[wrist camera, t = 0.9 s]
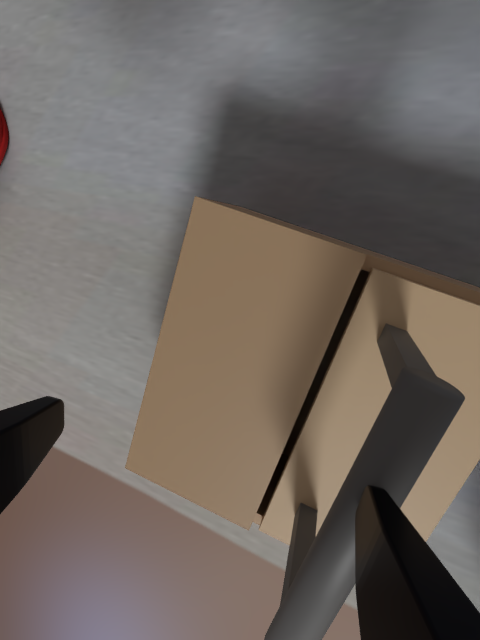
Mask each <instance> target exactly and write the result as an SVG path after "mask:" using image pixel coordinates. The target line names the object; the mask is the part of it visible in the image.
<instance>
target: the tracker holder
mask: <svg viewBox="0 0 480 640" xmlns="http://www.w3.org/2000/svg"><path fill="white" fill-rule="evenodd" d="M7 146H8V127H7V124H6V120H5V118H4V115H3V113H2V110H1V109H0V165H1V163H2V160H3V158H4V155H5V152H6V149H7Z"/></svg>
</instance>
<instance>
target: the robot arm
mask: <svg viewBox="0 0 480 640" xmlns="http://www.w3.org/2000/svg"><path fill="white" fill-rule="evenodd" d="M63 428H64V403H63V401H62V400H61V399H58V398H54V397H50V396H46V397H42V398H39V399H36V400H33V401H30V402H26V403H23V404H20V405H17V406H14V407H11V408H7V409H4V410H1V411H0V514H1V512H3V510H4V509H5V508H6V507H7V506H8V505H9V503H10V502H11V501H12V500H13V499H14V498H15V496H16V495H17V494H18V493H19V492H20V490H21V489H22V488H23V487H24V485H25V484H26V483H27V481H28V480H29V479H30V477H31V476H32V475H33V473H34V472H35V470H36V469H37V468H38V466H39V465H40V463H41V462H42V461H43V459H44V458H45V456H46V455H47V453H48V452H49V451H50V449H51V448H52V446H53V445H54V443H55V442H56V441H57V439H58V438H59V436H60V435H61V433H62V431H63ZM355 583H356V598H357V608H358V617H359V626H360V635H361V640H480V613H479V611H478V610H477V609H476V608H475V606H474V605H473V604H472V602H471V601H470V600H469V598H468V597H467V596H466V594H465V593H464V592H463V590H462V589H461V588H460V586H459V585H458V584H457V583H456V581H455V580H454V579H453V577H452V576H451V575H450V573H449V572H448V571H447V569H446V568H445V567H444V565H443V564H442V563H441V562H440V560H439V559H438V558H437V556H436V555H435V554H434V552H433V551H432V550H431V548H430V547H429V546H428V544H427V543H426V542H425V541H424V539H423V538H422V537H421V535H420V534H419V533H418V531H417V530H416V529H415V527H414V526H413V525H412V523H411V522H410V521H409V520H408V518H407V517H406V516H405V514H404V513H403V512H402V510H401V509H400V508H399V506H398V505H397V504H396V502H395V501H394V500H393V499H392V497H391V496H390V495H389V493H388V492H387V491H386V490H385V489H383V488H380V487H376V486H373V485H367V486H366V487H365V489H364V492H363V494H362V497H361V499H360V502H359V504H358V507H357V509H356V514H355Z"/></svg>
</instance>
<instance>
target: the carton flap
mask: <svg viewBox="0 0 480 640" xmlns="http://www.w3.org/2000/svg"><path fill="white" fill-rule="evenodd" d="M479 460H480V305H479V304H476V303H473V302H470V301H468V300H465V299H462V298H459V297H456V296H453V295H450V294H447V293H444V292H442V291H439V290H436V289H433V288H430V287H427V286H424V285H421V284H418V283H415V282H413V281H410V280H407V279H404V278H401V277H398V276H395V275H392V274H389V273H386V272H384V271H381V270H378V269H375V268H372V269H371V271H370V273H369V276H368V278H367V280H366V283H365V285H364V287H363V289H362V292H361V294H360V296H359V298H358V301H357V303H356V305H355V308H354V310H353V312H352V314H351V317H350V319H349V321H348V324H347V326H346V328H345V330H344V333H343V335H342V337H341V340H340V342H339V344H338V346H337V349H336V351H335V353H334V356H333V358H332V360H331V362H330V365H329V367H328V369H327V372H326V374H325V376H324V378H323V381H322V383H321V385H320V388H319V390H318V392H317V394H316V397H315V399H314V401H313V404H312V406H311V408H310V410H309V413H308V415H307V417H306V420H305V422H304V424H303V426H302V429H301V431H300V433H299V435H298V438H297V440H296V442H295V445H294V447H293V449H292V451H291V454H290V456H289V458H288V461H287V463H286V465H285V467H284V470H283V472H282V474H281V477H280V479H279V481H278V483H277V486H276V488H275V490H274V493H273V495H272V497H271V499H270V502H269V504H268V506H267V509H266V511H265V513H264V515H263V518H262V520H261V523H260V527H259V530H260V531H262V532H264V533H266V534H268V535H270V536H272V537H274V538H276V539H278V540H280V541H282V542H284V543H286V544H288V545H290V547H289V553H288V560H287V566H286V572H285V578H284V585H283V591H282V597H281V603H280V607H279V609H278V611H277V613H276V615H275V617H274V619H273V621H272V623H271V625H270V627H269V629H268V631H267V633H266V635H265V639H264V640H322V638H323V637H324V635H325V633H326V632H327V630H328V628H329V627H330V625H331V623H332V622H333V620H334V618H335V617H336V615H337V613H338V612H339V610H340V608H341V606H342V605H343V603H344V602H345V600H346V598H347V597H348V595H349V593H350V591H351V590H352V588H353V586H354V585H355V514H356V509H357V507H358V504H359V502H360V499H361V497H362V494H363V492H364V489H365V487H366V486H367V485H373V486H376V487H380V488H383V489H385V490H386V491H387V492H388V493H389V495H390V496H391V497H392V499H393V500H394V501H395V502H396V504H397V505H398V506H399V508H400V509H401V510H402V512H403V513H404V514H405V516H406V517H407V518H408V520H409V521H410V522H411V523H412V525H413V526H414V527H415V529H416V530H417V531H418V533H419V534H420V535H421V537H422V538H423V539H424V541H425V542H426V541H427V539H428V538H429V536H430V535H431V533H432V532H433V530H434V529H435V527H436V526H437V524H438V522H439V521H440V519H441V518H442V516H443V515H444V513H445V512H446V510H447V509H448V507H449V506H450V504H451V503H452V501H453V499H454V498H455V496H456V495H457V493H458V492H459V490H460V489H461V487H462V486H463V484H464V483H465V481H466V480H467V478H468V477H469V475H470V473H471V472H472V470H473V469H474V467H475V466H476V464H477V463H478V461H479Z"/></svg>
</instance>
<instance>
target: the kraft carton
mask: <svg viewBox="0 0 480 640" xmlns="http://www.w3.org/2000/svg"><path fill="white" fill-rule="evenodd" d="M372 268H375V269H378V270H381V271H384V272H386V273H389V274H392V275H395V276H398V277H401V278H404V279H407V280H410V281H413V282H415V283H418V284H421V285H424V286H427V287H430V288H433V289H436V290H439V291H442V292H444V293H447V294H450V295H453V296H456V297H459V298H462V299H465V300H468V301H470V302H473V303H476V304H479V305H480V287H477V286H474V285H471V284H468V283H465V282H462V281H459V280H456V279H453V278H450V277H447V276H444V275H441V274H438V273H435V272H432V271H429V270H426V269H423V268H420V267H417V266H414V265H412V264H409V263H406V262H403V261H400V260H397V259H394V258H391V257H388V256H385V255H382V254H379V253H376V252H373V251H370V250H367V249H364V248H361V247H358V246H355V245H352V244H349V243H346V242H343V241H340V240H337V239H335V238H332V237H329V236H326V235H323V234H320V233H317V232H314V231H311V230H308V229H305V228H302V227H299V226H296V225H293V224H290V223H287V222H284V221H281V220H278V219H275V218H272V217H269V216H266V215H263V214H260V213H258V212H255V211H252V210H249V209H246V208H243V207H240V206H235V205H231V204H227V203H222V202H218V201H214V200H209V199H205V198H200V197H196V196H195V198H194V202H193V206H192V210H191V214H190V218H189V222H188V225H187V229H186V233H185V237H184V241H183V245H182V249H181V253H180V256H179V260H178V264H177V268H176V272H175V276H174V280H173V284H172V288H171V291H170V295H169V299H168V303H167V307H166V311H165V315H164V319H163V323H162V326H161V330H160V334H159V338H158V342H157V346H156V350H155V354H154V357H153V361H152V365H151V369H150V373H149V377H148V381H147V385H146V389H145V392H144V396H143V400H142V404H141V408H140V412H139V416H138V420H137V424H136V427H135V431H134V435H133V439H132V443H131V447H130V451H129V455H128V458H127V462H126V466H125V468H126V469H128V470H130V471H132V472H134V473H136V474H138V475H140V476H142V477H144V478H146V479H148V480H150V481H152V482H154V483H156V484H158V485H160V486H162V487H164V488H166V489H168V490H170V491H171V492H173V493H175V494H177V495H179V496H181V497H183V498H185V499H187V500H189V501H191V502H193V503H195V504H197V505H199V506H201V507H203V508H205V509H207V510H209V511H211V512H213V513H215V514H217V515H219V516H221V517H223V518H225V519H227V520H229V521H231V522H233V523H235V524H237V525H239V526H241V527H243V528H245V529H247V530H249V529H250V527H251V524H252V522H254V523H256V524H258V525H260V523H261V520H262V518H263V515H264V513H265V511H266V509H267V506H268V504H269V502H270V499H271V497H272V495H273V493H274V490H275V488H276V486H277V483H278V481H279V479H280V477H281V474H282V472H283V470H284V467H285V465H286V463H287V461H288V458H289V456H290V454H291V451H292V449H293V447H294V445H295V442H296V440H297V438H298V435H299V433H300V431H301V429H302V426H303V424H304V422H305V420H306V417H307V415H308V413H309V410H310V408H311V406H312V404H313V401H314V399H315V397H316V394H317V392H318V390H319V388H320V385H321V383H322V381H323V378H324V376H325V374H326V372H327V369H328V367H329V365H330V362H331V360H332V358H333V356H334V353H335V351H336V349H337V346H338V344H339V342H340V340H341V337H342V335H343V333H344V330H345V328H346V326H347V324H348V321H349V319H350V317H351V314H352V312H353V310H354V308H355V305H356V303H357V301H358V298H359V296H360V294H361V292H362V289H363V287H364V285H365V283H366V280H367V278H368V276H369V273H370V271H371V269H372Z"/></svg>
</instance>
